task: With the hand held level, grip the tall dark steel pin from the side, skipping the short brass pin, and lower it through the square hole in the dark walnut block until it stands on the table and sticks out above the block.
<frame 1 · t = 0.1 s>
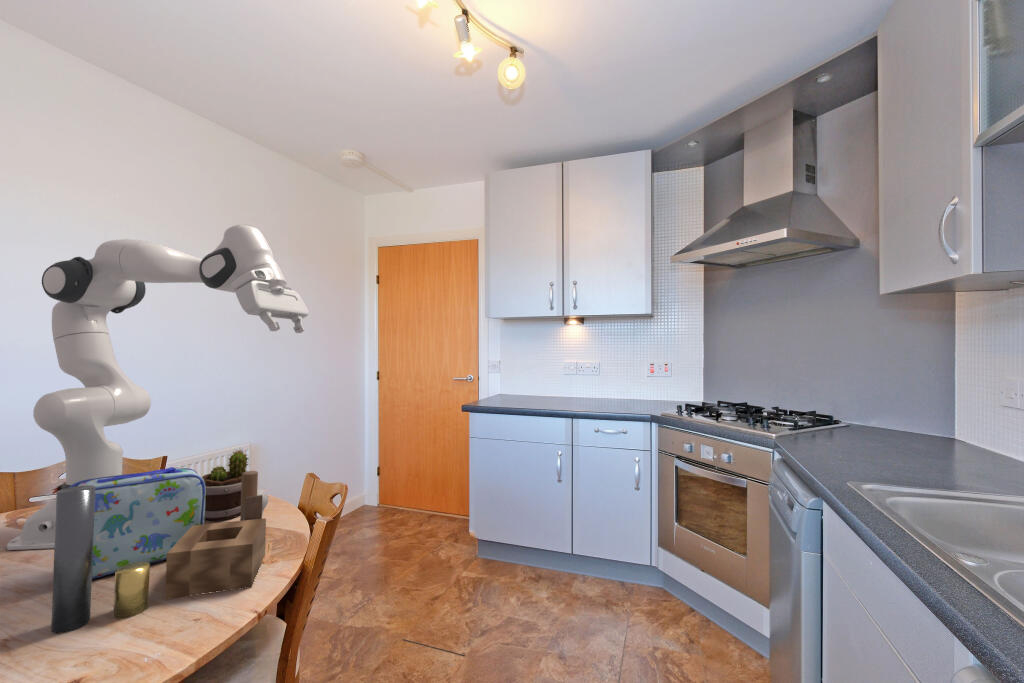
hand: (288, 331, 111), 54 cm above the table, tool tilted 30°, fingers open, 8 cm apart
lunch box: (135, 563, 103), on the table
flowerpot: (223, 515, 133), on the table
brass pin: (131, 610, 84), on the table
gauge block: (219, 575, 98), on the table
wooden block: (249, 548, 112), on the table
steel pin: (71, 624, 80), on the table
lightbulb: (255, 530, 123), on the table
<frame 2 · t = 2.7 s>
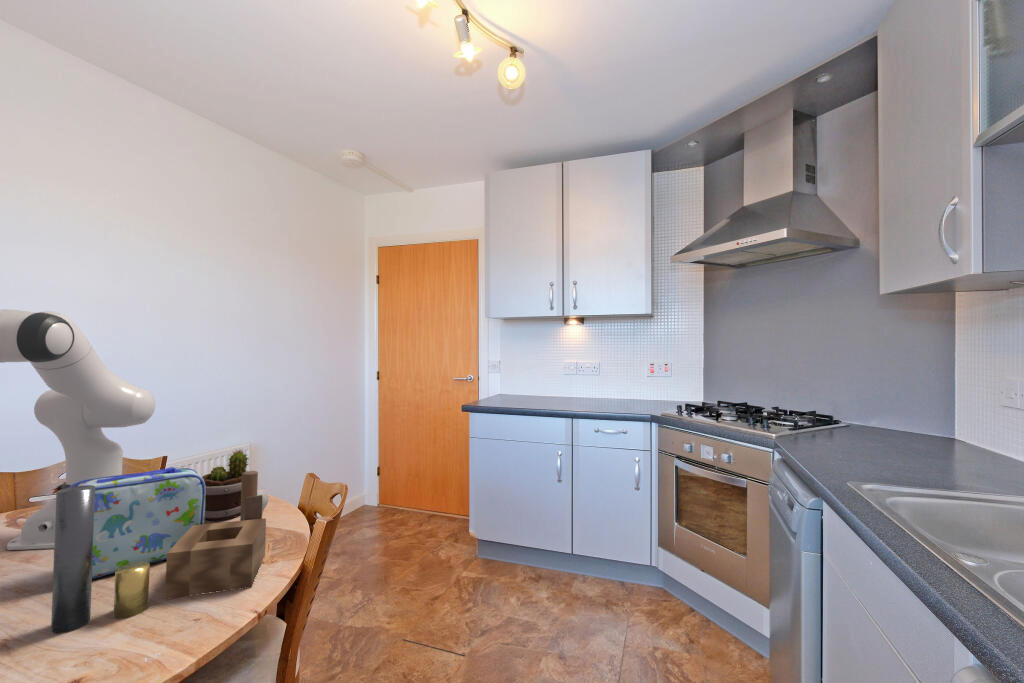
nothing on the table moved.
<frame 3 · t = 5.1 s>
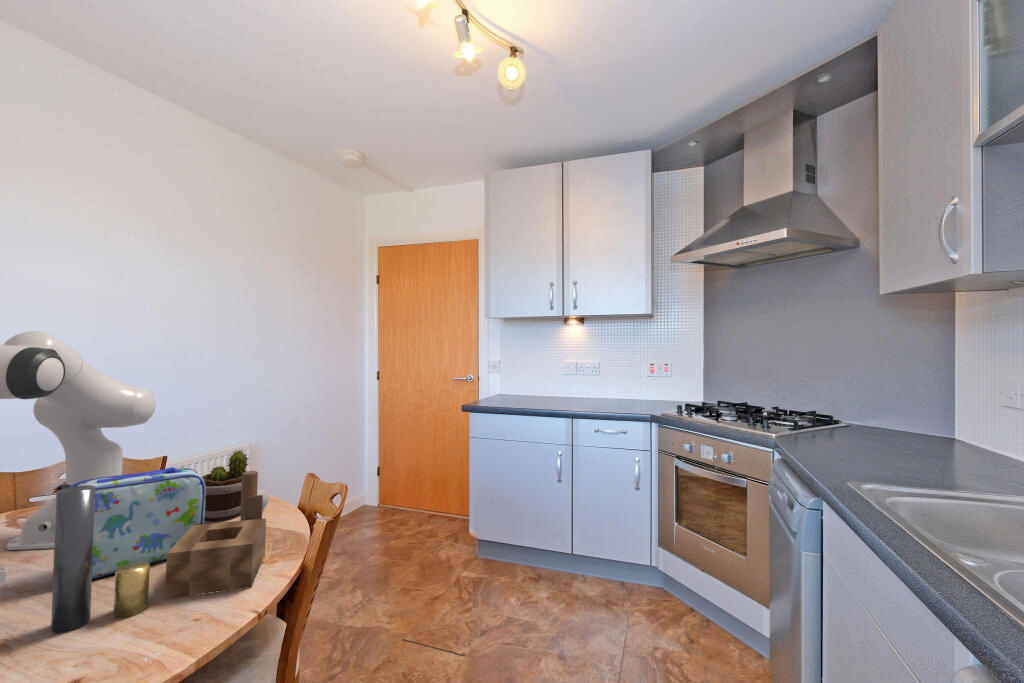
hand: (0, 565, 73), 14 cm above the table, tool horizontal, fingers open, 8 cm apart
nothing on the table moved.
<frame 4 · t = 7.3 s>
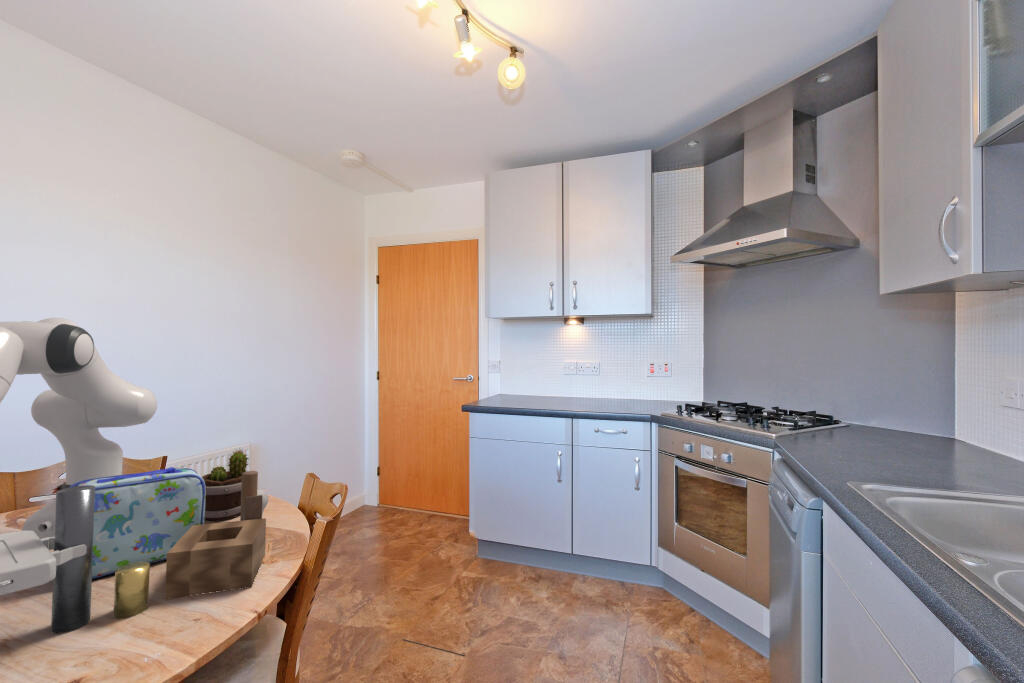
hand: (80, 543, 81), 14 cm above the table, tool horizontal, fingers closed on steel pin, 5 cm apart
steel pin: (71, 624, 80), on the table, touching gripper
everything else where it was.
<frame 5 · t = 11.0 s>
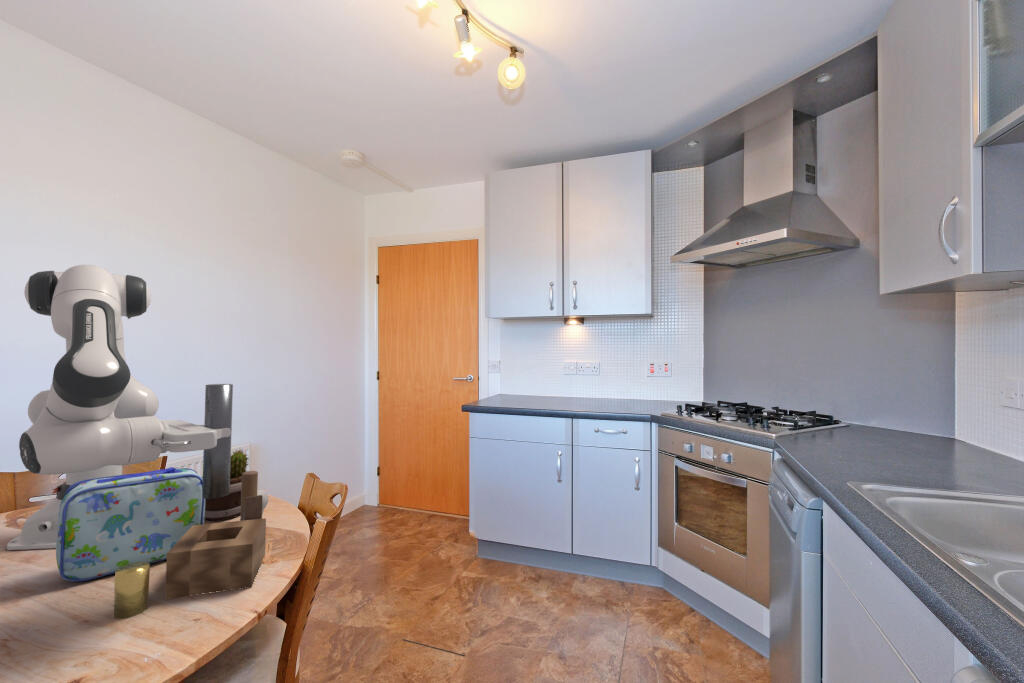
hand: (222, 430, 98), 32 cm above the table, tool horizontal, fingers closed on steel pin, 5 cm apart
steel pin: (216, 495, 97), point 18 cm above the table, touching gripper
everything else where it was.
when the fingers open (15 cm above the table, at t = 14.8 s): steel pin drops 1 cm, resting in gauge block.
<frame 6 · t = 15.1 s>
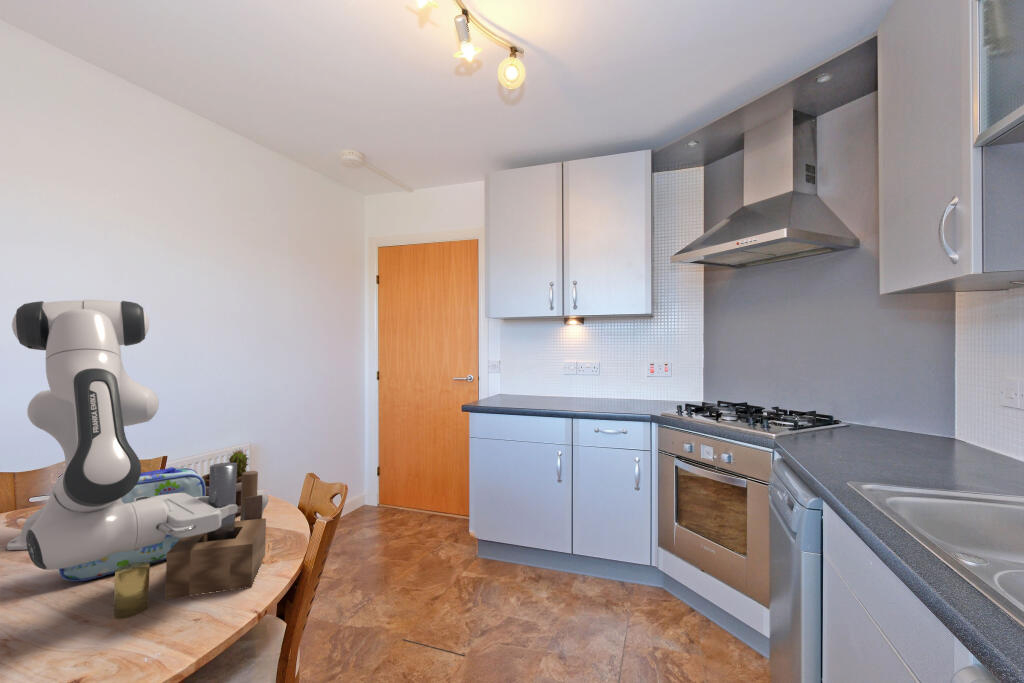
hand: (226, 503, 99), 15 cm above the table, tool horizontal, fingers open, 8 cm apart
steel pin: (219, 575, 98), resting in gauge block
everything else where it was.
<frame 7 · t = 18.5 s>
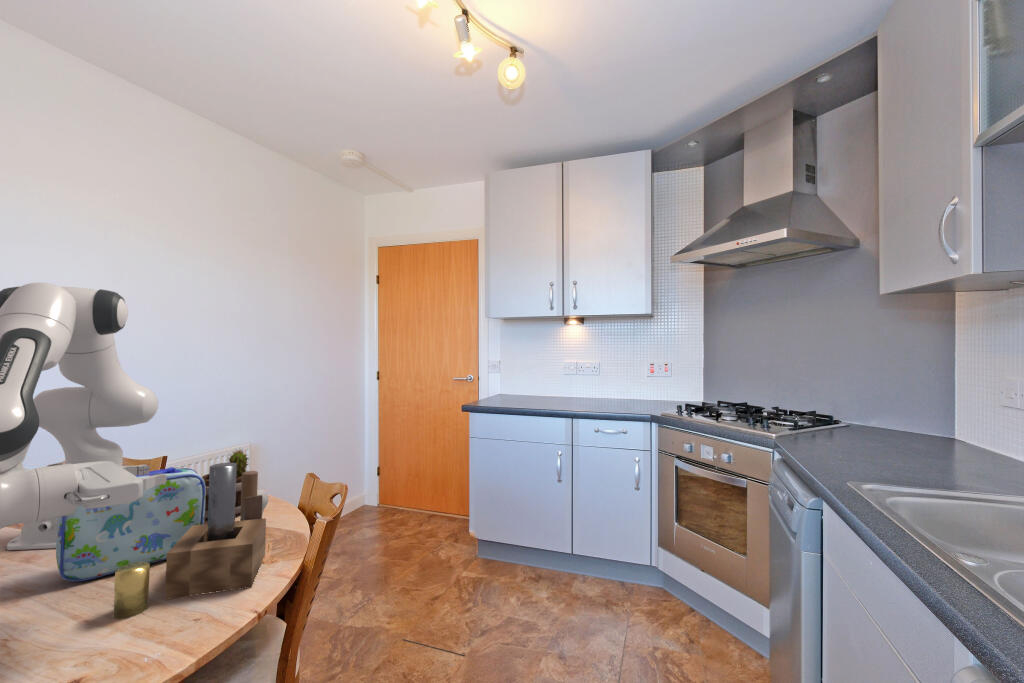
hand: (156, 473, 89), 25 cm above the table, tool horizontal, fingers open, 8 cm apart
nothing on the table moved.
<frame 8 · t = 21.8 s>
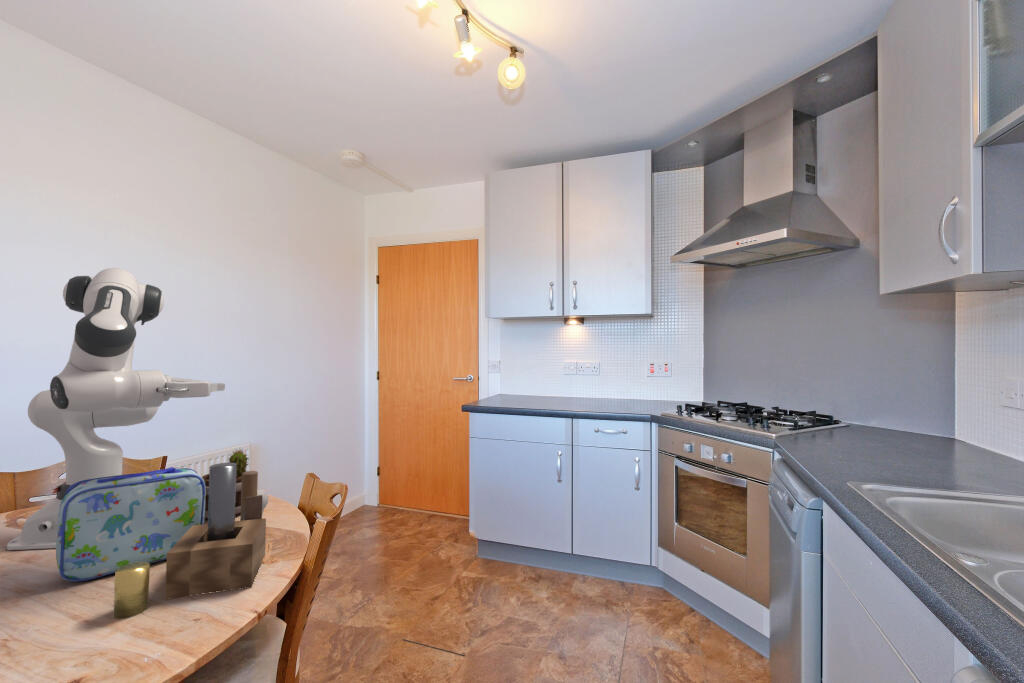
hand: (215, 385, 117), 40 cm above the table, tool horizontal, fingers open, 8 cm apart
nothing on the table moved.
at the end: steel pin 0.0 cm off-centre on the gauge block, point 0.0 cm above the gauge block's base; steel pin tilted 0°; brass pin moved 0.0 cm from its start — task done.
